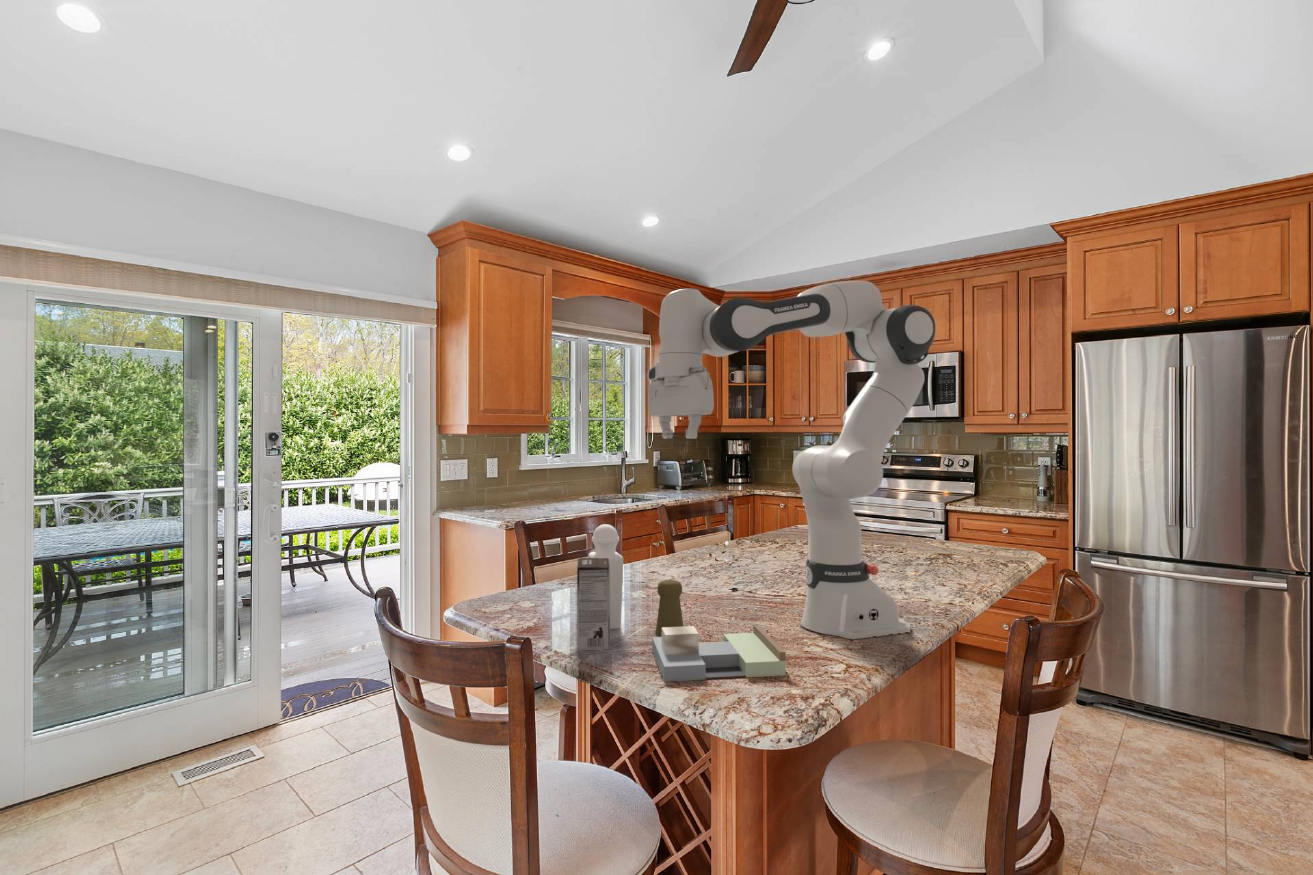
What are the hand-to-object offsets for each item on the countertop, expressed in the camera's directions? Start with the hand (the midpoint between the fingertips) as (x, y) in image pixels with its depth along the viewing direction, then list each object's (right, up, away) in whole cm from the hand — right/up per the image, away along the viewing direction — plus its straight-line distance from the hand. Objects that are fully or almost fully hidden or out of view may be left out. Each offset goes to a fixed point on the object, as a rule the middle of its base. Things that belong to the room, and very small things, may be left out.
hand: (678, 438), depth 129 cm
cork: (-2, -41, +4) cm, 41 cm away
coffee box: (-17, -41, -2) cm, 44 cm away
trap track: (+6, -41, -13) cm, 43 cm away
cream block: (0, -38, -14) cm, 40 cm away
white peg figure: (-16, -41, +10) cm, 45 cm away
